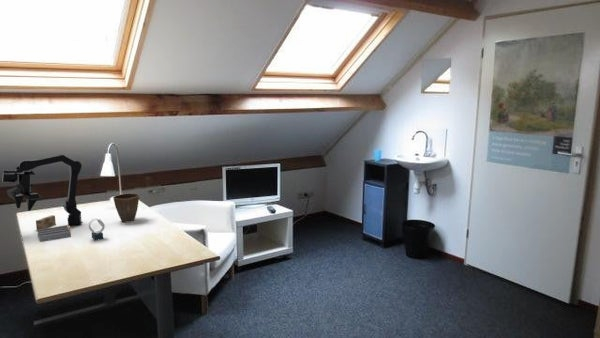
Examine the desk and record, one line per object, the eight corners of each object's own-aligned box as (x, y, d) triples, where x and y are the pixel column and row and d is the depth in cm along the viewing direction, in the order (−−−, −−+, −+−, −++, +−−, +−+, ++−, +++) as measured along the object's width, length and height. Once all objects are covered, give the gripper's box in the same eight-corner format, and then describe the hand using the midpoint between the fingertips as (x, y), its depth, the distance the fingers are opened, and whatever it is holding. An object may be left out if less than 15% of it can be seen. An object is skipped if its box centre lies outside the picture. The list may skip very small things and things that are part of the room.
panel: (52, 224, 249) (51, 215, 248) (55, 224, 249) (54, 215, 248) (36, 230, 238) (35, 220, 237) (40, 230, 237) (39, 220, 236)
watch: (107, 237, 224) (105, 218, 222) (91, 241, 219) (89, 221, 217) (103, 235, 228) (102, 216, 226) (88, 238, 223) (86, 219, 221)
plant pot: (134, 224, 250) (132, 198, 247) (110, 224, 250) (108, 198, 248) (144, 217, 265) (142, 193, 262) (121, 217, 265) (119, 193, 262)
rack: (38, 234, 230) (37, 227, 229) (68, 229, 239) (67, 223, 238) (40, 241, 218) (39, 234, 217) (72, 236, 227) (71, 229, 226)
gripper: (-2, 181, 226) (-2, 209, 227) (21, 185, 219) (20, 213, 220) (19, 180, 236) (18, 206, 237) (41, 183, 229) (40, 211, 231)
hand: (23, 209), depth 231 cm, fingers open, 9 cm apart
